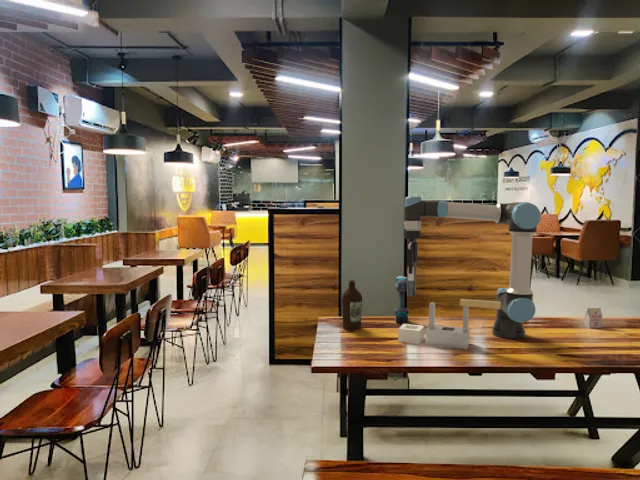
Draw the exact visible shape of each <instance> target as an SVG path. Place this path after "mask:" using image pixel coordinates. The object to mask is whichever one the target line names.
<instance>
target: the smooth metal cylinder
mask: <svg viewBox="0 0 640 480" xmlns="http://www.w3.org/2000/svg"><path fill="white" fill-rule="evenodd" d="M413 267H414V281H408V282H407V290H406V292H407V293H406V294H407V297H411V298H412V297H416V296H417V265H416V262H414V266H413Z"/></svg>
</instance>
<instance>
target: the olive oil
mask: <svg viewBox="0 0 640 480" xmlns="http://www.w3.org/2000/svg"><path fill="white" fill-rule="evenodd" d="M362 307H363V296H362V294H361V292H360V291H359V290H358V288H356V280H355V279H349V280H348V287H347V289H346V290H345V291H344V292H343V293H342V296H341V311H342V314H341V315H342V328H343V329H344V330H347V331H357V330H361V328H362V318H363V317H362V310H363V308H362Z"/></svg>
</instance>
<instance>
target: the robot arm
mask: <svg viewBox="0 0 640 480" xmlns="http://www.w3.org/2000/svg"><path fill="white" fill-rule="evenodd" d="M422 218H449V219H450V218H451V219H464V220H476V221H477V220H479V221H491V222H495V224H500V225H506V226H508V233H509V234H510V235H511V246H510V247H511V249H510V265H509V266H510V267H509V269H510V270H509V284H508V285H509V286H508V287H499V288H498V289H497V290H496V301H499V302H501V309H495V310H496V315H495V316H496V317H495V321H494V323H493V326H492V329H491V332H492V333H491V334H492V335H494V336H495V337H498V338H499V337H500V338H503V339H504V338H505V339H512V340H513V339H514V340H516V339H523V338H525V337H526V330H525V326H524V323H526V322H528V321H531V320H532V319H533V317H535V314H536V305H535V302H534V300H533V298H534V292H533V291H532V290H531V287H530V286H531V285H530V284H531V271H532V270H531V267H532V250H533V237H534V235H536V234H537V230H538V229H537V228H538V225H539V224H540V223H541V219H542V214H541V211H540V209H539V207H538V206H536V204H533V203H531V202H529V201H528V202H527V201H522V202H517V201H516V202H515V201H514V202H511V203H509V202H507V203H501V202H500V203H497V204H482V203H469V202H467V203H466V202H456V201H455V202H454V201H453V202H452V201H446V200H422V197H421V196H406V197H405V198H404V222H403V225H404V233H403V234H404V239H406V240H407V239H408V242H407V244H406V265H405V267H407V279H408V281H414V267H413V266H414V262H416V266H418V265H419V263H418V248H419V243H418V242H417V239H418V240H420V239H421V236H422V235H421V234H422V233H421V232H422V230H421V229H422Z"/></svg>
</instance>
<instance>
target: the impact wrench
mask: <svg viewBox="0 0 640 480" xmlns="http://www.w3.org/2000/svg"><path fill="white" fill-rule="evenodd" d="M407 282H408V277H407V276H405V275H403V274H399V275H397V276H396V277H395V279H394V283H393V284H394V286H395V289H396V291H397V292H398V304H399V305H398V306H397V307H395V308H394V320H395V323H397V324H409V323H408V322H409V316H408V314H409V310H408V308H407V307H405V293H406V292H407Z"/></svg>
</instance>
